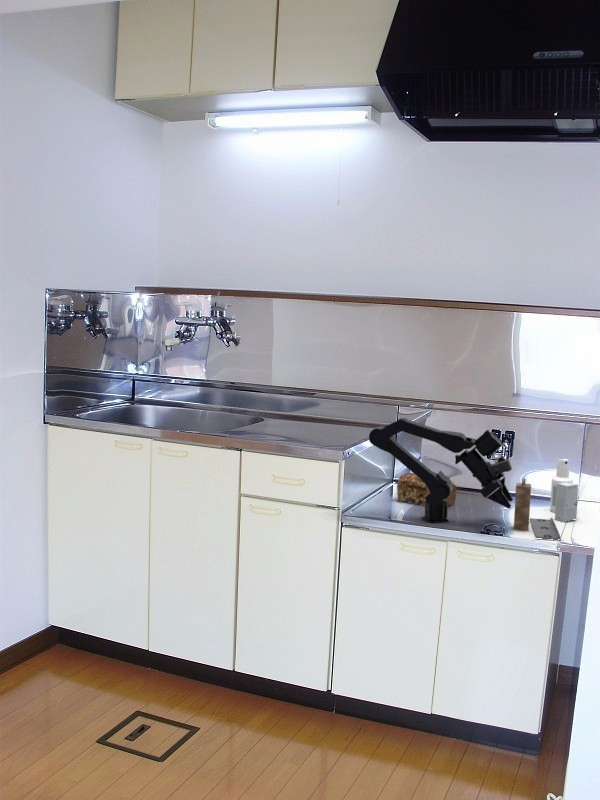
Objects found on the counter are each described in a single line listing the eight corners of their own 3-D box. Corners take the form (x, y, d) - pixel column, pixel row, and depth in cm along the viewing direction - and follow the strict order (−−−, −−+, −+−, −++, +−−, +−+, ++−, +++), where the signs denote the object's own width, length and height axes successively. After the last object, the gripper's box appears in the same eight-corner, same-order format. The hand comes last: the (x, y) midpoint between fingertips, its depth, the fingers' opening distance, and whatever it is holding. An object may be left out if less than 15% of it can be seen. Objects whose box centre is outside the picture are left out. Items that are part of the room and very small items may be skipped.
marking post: (513, 529, 259) (516, 479, 257) (514, 526, 263) (517, 476, 261) (528, 531, 258) (531, 480, 256) (528, 527, 262) (531, 477, 260)
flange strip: (560, 540, 248) (560, 536, 247) (535, 539, 249) (536, 534, 249) (552, 522, 269) (552, 517, 269) (529, 520, 270) (530, 516, 270)
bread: (395, 501, 293) (396, 474, 292) (409, 496, 302) (410, 469, 300) (444, 510, 283) (446, 481, 281) (457, 504, 292) (458, 476, 290)
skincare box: (564, 522, 269) (567, 486, 267) (553, 519, 273) (555, 483, 271) (577, 520, 272) (579, 484, 271) (566, 517, 276) (568, 481, 275)
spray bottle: (557, 514, 280) (560, 461, 278) (546, 509, 286) (549, 457, 284) (575, 513, 282) (578, 461, 279) (563, 508, 288) (566, 457, 286)
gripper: (495, 454, 251) (529, 494, 249) (499, 445, 269) (532, 482, 267) (466, 477, 254) (501, 517, 253) (473, 466, 272) (505, 503, 270)
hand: (510, 504), depth 260 cm, fingers open, 9 cm apart
